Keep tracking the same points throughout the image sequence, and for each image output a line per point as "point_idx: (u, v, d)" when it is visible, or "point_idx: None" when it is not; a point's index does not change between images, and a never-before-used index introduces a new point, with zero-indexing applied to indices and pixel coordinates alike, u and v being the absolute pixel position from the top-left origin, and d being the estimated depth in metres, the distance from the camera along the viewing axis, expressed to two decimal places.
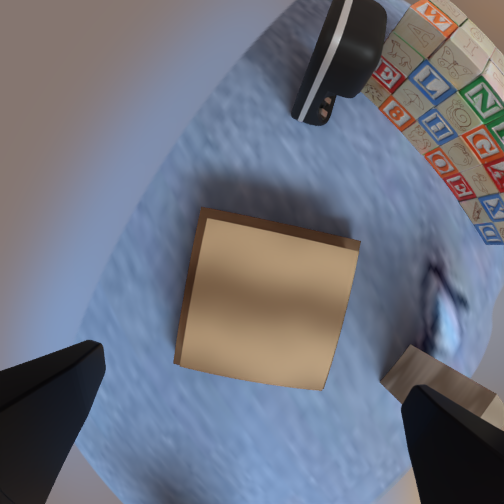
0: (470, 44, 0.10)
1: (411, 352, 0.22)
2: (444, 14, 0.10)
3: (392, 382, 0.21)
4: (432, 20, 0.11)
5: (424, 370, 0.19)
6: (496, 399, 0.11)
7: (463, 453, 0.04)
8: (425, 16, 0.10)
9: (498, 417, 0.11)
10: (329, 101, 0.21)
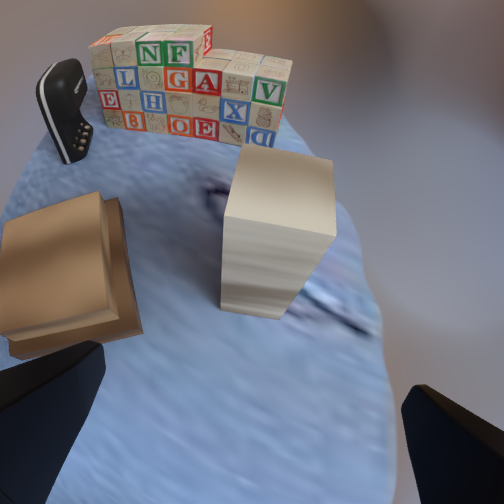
0: (130, 35, 0.21)
1: None
2: (115, 35, 0.22)
3: None
4: (102, 43, 0.21)
5: None
6: (250, 147, 0.13)
7: (463, 453, 0.04)
8: (97, 44, 0.20)
9: (294, 164, 0.13)
10: (84, 141, 0.28)
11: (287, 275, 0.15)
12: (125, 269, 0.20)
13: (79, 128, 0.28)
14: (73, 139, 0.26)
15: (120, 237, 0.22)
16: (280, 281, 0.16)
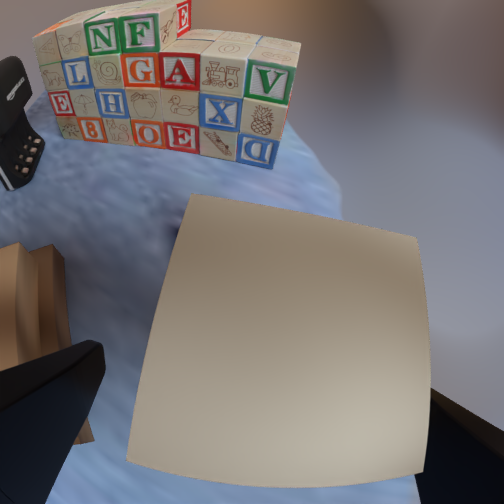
0: (81, 17, 0.13)
1: None
2: (67, 21, 0.14)
3: None
4: (48, 31, 0.13)
5: None
6: (210, 206, 0.05)
7: (463, 453, 0.04)
8: (42, 33, 0.12)
9: (332, 259, 0.05)
10: (30, 160, 0.19)
11: None
12: None
13: (26, 143, 0.19)
14: (15, 159, 0.18)
15: (52, 308, 0.13)
16: None
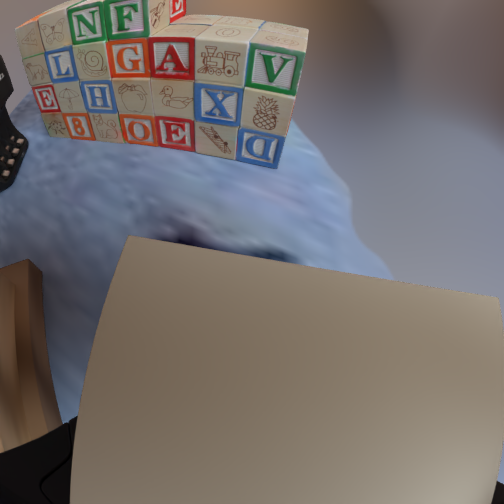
0: (66, 4, 0.10)
1: None
2: (52, 10, 0.11)
3: None
4: (31, 21, 0.10)
5: None
6: (161, 263, 0.02)
7: None
8: (25, 24, 0.10)
9: (391, 366, 0.02)
10: (11, 161, 0.17)
11: None
12: (37, 389, 0.10)
13: (8, 144, 0.17)
14: None
15: (28, 332, 0.11)
16: None
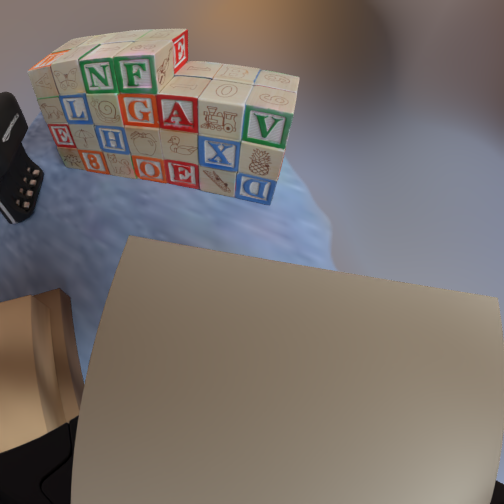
0: (76, 51, 0.14)
1: None
2: (62, 51, 0.15)
3: None
4: (43, 65, 0.14)
5: None
6: (162, 263, 0.02)
7: None
8: (37, 67, 0.14)
9: (390, 366, 0.02)
10: (30, 193, 0.21)
11: None
12: (74, 394, 0.13)
13: (25, 176, 0.21)
14: (16, 194, 0.19)
15: (64, 350, 0.15)
16: None
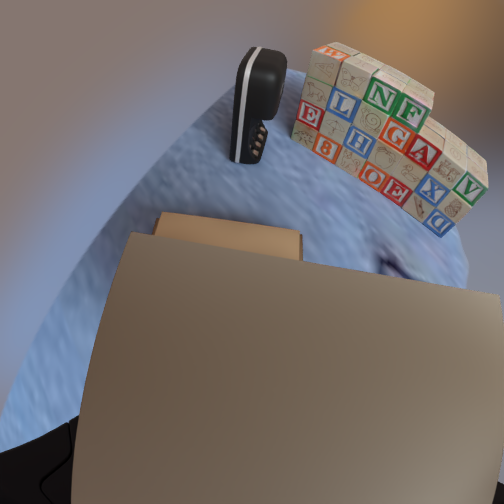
0: (361, 62, 0.21)
1: None
2: (340, 51, 0.23)
3: None
4: (330, 55, 0.22)
5: None
6: (164, 259, 0.02)
7: None
8: (324, 53, 0.22)
9: (393, 362, 0.02)
10: (259, 145, 0.29)
11: None
12: None
13: (256, 128, 0.29)
14: (251, 139, 0.28)
15: None
16: None
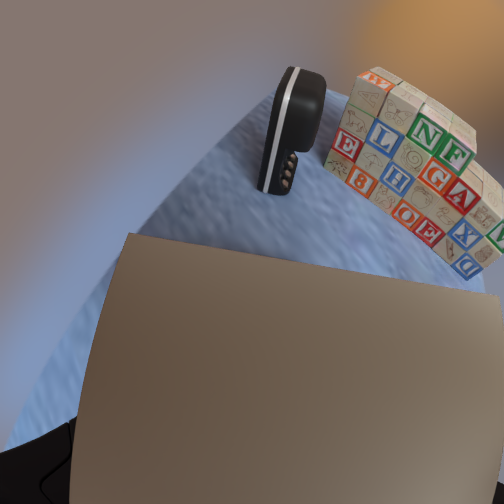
0: (407, 94, 0.20)
1: None
2: (384, 79, 0.21)
3: None
4: (374, 83, 0.20)
5: None
6: (161, 260, 0.02)
7: None
8: (369, 81, 0.20)
9: (392, 364, 0.02)
10: (289, 174, 0.28)
11: None
12: None
13: None
14: (281, 168, 0.26)
15: None
16: None
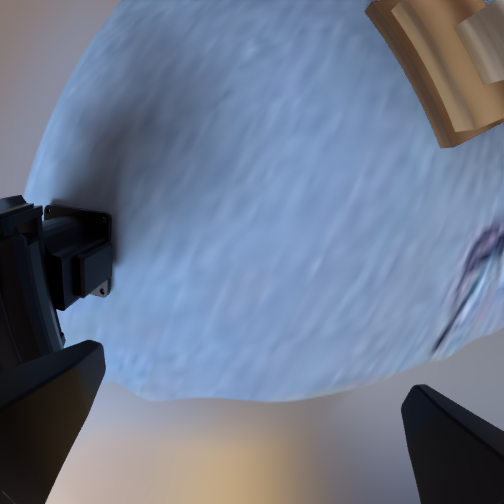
0: None
1: None
2: None
3: None
4: None
5: None
6: None
7: (463, 453, 0.04)
8: None
9: None
10: None
11: None
12: (487, 129, 0.15)
13: None
14: None
15: None
16: None
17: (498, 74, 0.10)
